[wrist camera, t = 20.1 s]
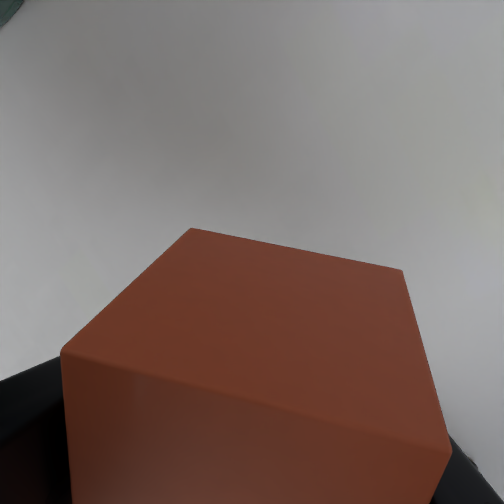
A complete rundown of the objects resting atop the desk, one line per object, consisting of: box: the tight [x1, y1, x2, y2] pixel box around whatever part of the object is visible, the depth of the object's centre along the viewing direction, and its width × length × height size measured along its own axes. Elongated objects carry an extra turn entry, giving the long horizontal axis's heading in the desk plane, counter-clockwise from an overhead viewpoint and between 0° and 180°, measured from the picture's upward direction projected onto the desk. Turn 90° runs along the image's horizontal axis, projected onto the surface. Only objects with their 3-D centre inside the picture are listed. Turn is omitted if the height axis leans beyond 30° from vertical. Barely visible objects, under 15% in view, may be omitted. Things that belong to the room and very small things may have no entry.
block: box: [60, 228, 452, 504], centre depth 7 cm, size 4×4×4 cm
